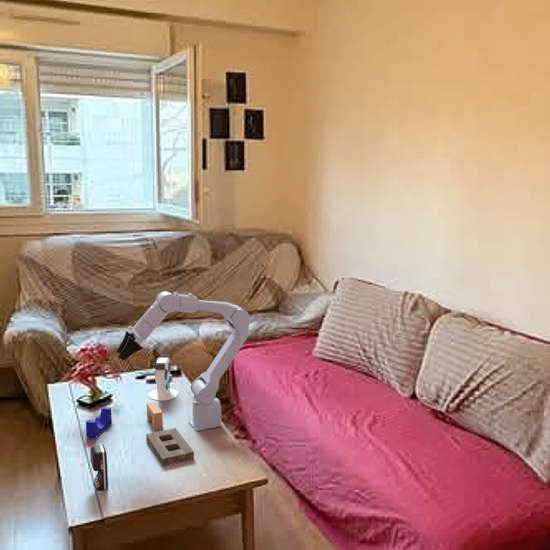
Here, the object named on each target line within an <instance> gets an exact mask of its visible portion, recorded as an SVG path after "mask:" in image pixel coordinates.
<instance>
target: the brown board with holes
mask: <svg viewBox="0 0 550 550" xmlns="http://www.w3.org/2000/svg"><path fill="white" fill-rule="evenodd" d="M145 437H146V442H148V443H147V444H148V445H150V446H149V447H150V449H151V448H152V449H151V451H152V453H153V454H154V453H155V454H154V456H155V457H156V456H157V457H156V458H157V460H158V461H160V462H159V464H160V465H161V464H162V465H161V466H162V467H167V466H171V465H175V464H174V463H176V464H179V462H180V463H183V462H188V461H187V460H189V461H192V460H191V459H193V460H195V451H194V450H193V448H192V447H191V446H190V445H189V443H188V442H187V441H186V440H185V438H184V437H183V436H182V435H181V433H180V432H179V430H178V429H177V428H176V427H173V428H170V429H163V430H159V431H158V430H157V431H153V432H149V433H146V435H145ZM170 464H171V465H170ZM166 465H167V466H166Z"/></svg>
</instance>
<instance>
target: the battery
mask: <svg viewBox="0 0 550 550" xmlns="http://www.w3.org/2000/svg"><path fill="white" fill-rule="evenodd" d="M89 451H90V455H89V457H90V464H91V468H92V469H93V471H94V472H97V473H96V475H95V477H94V479H93V480H94V486H95V489H96V490H98V491H102V490H103V491H105V490H108V488H109V479H108V478H109V473H108V472H109V471H108V455H107V450H106V447H105V445H104V443H103V444H97V445H93V446H91V448H90V450H89Z"/></svg>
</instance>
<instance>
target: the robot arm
mask: <svg viewBox="0 0 550 550" xmlns="http://www.w3.org/2000/svg"><path fill="white" fill-rule="evenodd" d="M197 311H203V312H209V313H210V312H211V313H216V314H217V313H218V314H221V315H223V317H224V318H225V320H226V322H227V323H228V326H229V329H230V333H231V334H230V335H229V337H228V338H227V340H226V341H225V343H224V344H223V346H222V347H221V348H220V350H219V352H218V353H217V354H216V356H215V357H214V359H213V361H212V362H211V364H210V365H209V367H208V368H207V370H206V371H204V372H202V373H201V374H200V375H199V376H198V377H197V378H196V379H194V380H193V381H192V383H191V385H190V391H191V393H192V394H193V398H192V419H191V420H188V423H189V424H190V425H191V426H192V428H193V429H194V430H195V431H196V432H199V431H204V430H208V429H214V428H218V427H222V426H223V424H222V405H221V402H220V399H219V398H217V392H218V390H219V386H220V380H221V378H222V376H224V374H225V372H226V370H227V369H228V368H229V366H230V365H231V363H232V361H234V359H235V357H236V355H237V354H238V353H239V351H240V349H241V347H242V346H243V345H244V343H245V342H246V340H247V338H248V336H249V330H250V324H251V322H252V320H251V317H250V314H249V312H248V310H245V309H243V308H242V307H240V306H239V305H238V304H236V303H231V302H228V301H217V300H216V301H214V300H203V299H202V300H201V299H198V297H197V296H196V295H194V294H193V293H191V292H190V293H188V294H181V293H178V292H177V291H174V293H173V294H172V293H171V292H170V291H168V290H167V291H166V290H165V291H161V292H160V293H157V294H156V297H155V301H154V303H152V304H151V306H150V307H149V308H148V309H147V310H146V311H145V313H144V314H143V315H142V316H141V318H139V320H138V321H137V322H136V323H135V324H134V325H133V326H131V325H129V326H128V327H127V328H128V329H129V330H130V331H131V332H129V331H128V330H126V331H125V334H124V337H123V339H122V341H121V343H120V344H119V346H118V348H117V351H116V352H117V353H118V354H119V355H118V358H119V359H121V360H122V361H125V360H127V359H129V358H130V357H131V356H132V355H133V354H135V353H137V352H138V351H141V350H143V348H144V347H143V346H142V343H143V342H146V341H147V339H148V338H149V336H150V335H151V334H152V333H153V332H154V331H155V329H156V328H157V327H158V326H159V325H160V324H161V323H162V322H163V320H164V319H165V318H166V317H167V315H169V313H173V312H179V313H180V312H181V313H182V312H183V313H189V314H194V313H196V312H197Z"/></svg>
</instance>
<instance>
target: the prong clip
mask: <svg viewBox="0 0 550 550" xmlns="http://www.w3.org/2000/svg"><path fill="white" fill-rule="evenodd" d="M163 415H164V414H163V411H162V410H161V408H160V406H159V405H158V404H157V402H149V403H146V419H147V422H148V421H151V422H152V429H153V430H154V431H156V429H157V430H161V429H164V423H163V422H164V421H163Z"/></svg>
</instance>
